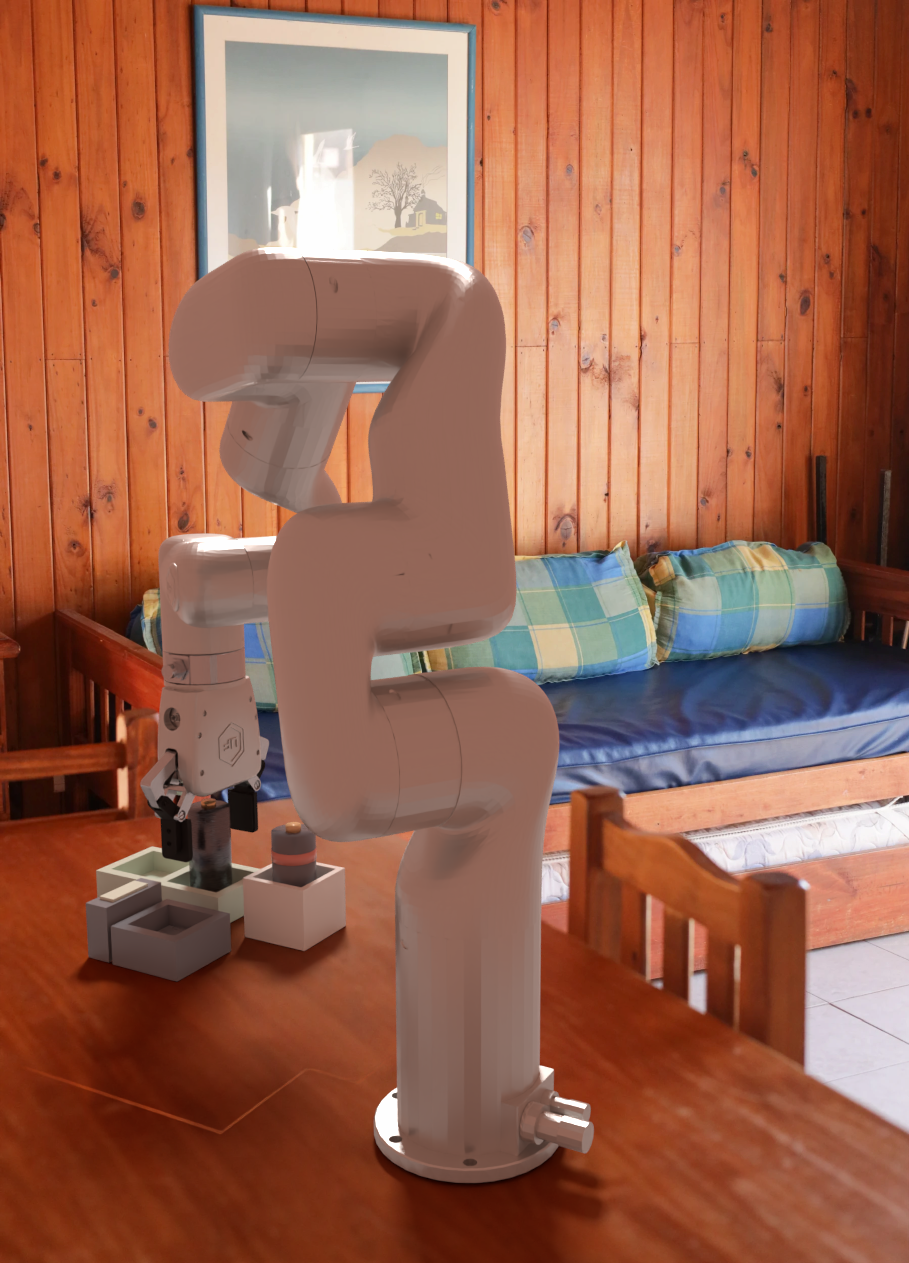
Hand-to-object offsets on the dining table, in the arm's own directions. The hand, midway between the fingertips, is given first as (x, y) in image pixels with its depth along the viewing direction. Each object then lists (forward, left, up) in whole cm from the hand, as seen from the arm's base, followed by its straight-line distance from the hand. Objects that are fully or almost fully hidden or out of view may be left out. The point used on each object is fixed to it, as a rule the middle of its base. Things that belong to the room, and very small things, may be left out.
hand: (211, 844), depth 128 cm
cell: (0, 0, -5) cm, 5 cm away
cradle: (-3, +11, -6) cm, 13 cm away
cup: (-10, +1, -6) cm, 12 cm away
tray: (+4, 0, -6) cm, 7 cm away
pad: (-4, +11, -7) cm, 14 cm away
